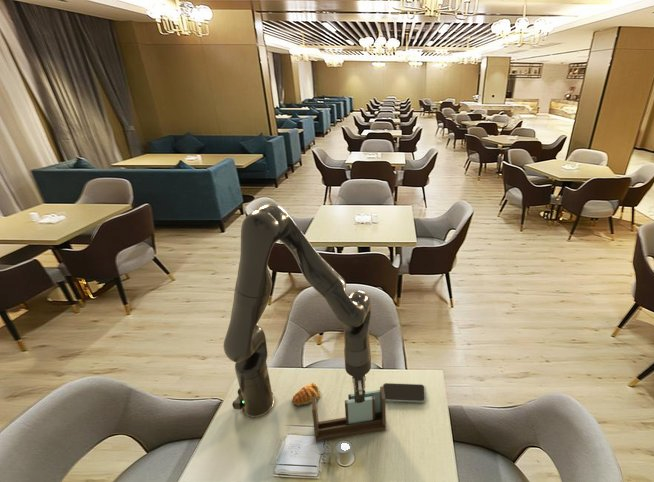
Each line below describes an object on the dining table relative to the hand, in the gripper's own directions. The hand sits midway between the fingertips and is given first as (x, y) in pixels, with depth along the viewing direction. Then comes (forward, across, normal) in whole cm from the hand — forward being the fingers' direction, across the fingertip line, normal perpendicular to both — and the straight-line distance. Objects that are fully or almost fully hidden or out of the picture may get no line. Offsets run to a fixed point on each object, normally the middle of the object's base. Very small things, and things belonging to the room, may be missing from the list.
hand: (359, 398), depth 109 cm
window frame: (+13, 0, -3) cm, 13 cm away
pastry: (+13, -15, -17) cm, 26 cm away
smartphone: (+13, -10, +16) cm, 23 cm away
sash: (+11, 0, 0) cm, 11 cm away
